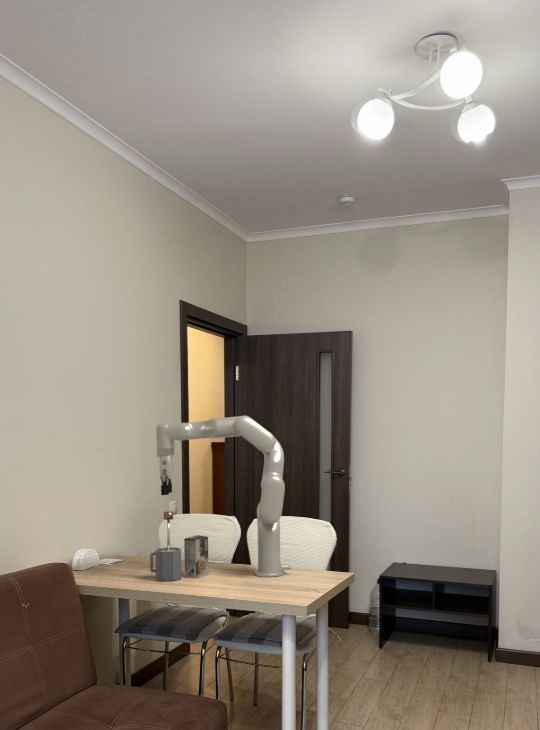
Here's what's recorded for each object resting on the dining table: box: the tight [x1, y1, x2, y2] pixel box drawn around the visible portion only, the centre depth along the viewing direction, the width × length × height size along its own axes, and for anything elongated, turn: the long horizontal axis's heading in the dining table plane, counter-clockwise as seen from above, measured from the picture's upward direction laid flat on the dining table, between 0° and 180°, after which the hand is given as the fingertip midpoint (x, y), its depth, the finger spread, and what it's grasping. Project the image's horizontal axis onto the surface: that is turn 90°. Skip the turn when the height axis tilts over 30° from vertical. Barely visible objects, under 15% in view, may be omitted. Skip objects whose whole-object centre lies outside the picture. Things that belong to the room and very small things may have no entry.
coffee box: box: [183, 534, 210, 579], centre depth 294 cm, size 9×6×16 cm
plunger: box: [159, 510, 177, 552], centre depth 290 cm, size 8×8×16 cm
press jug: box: [149, 546, 182, 583], centre depth 289 cm, size 13×10×12 cm
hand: (166, 493), depth 294 cm, fingers open, 9 cm apart
